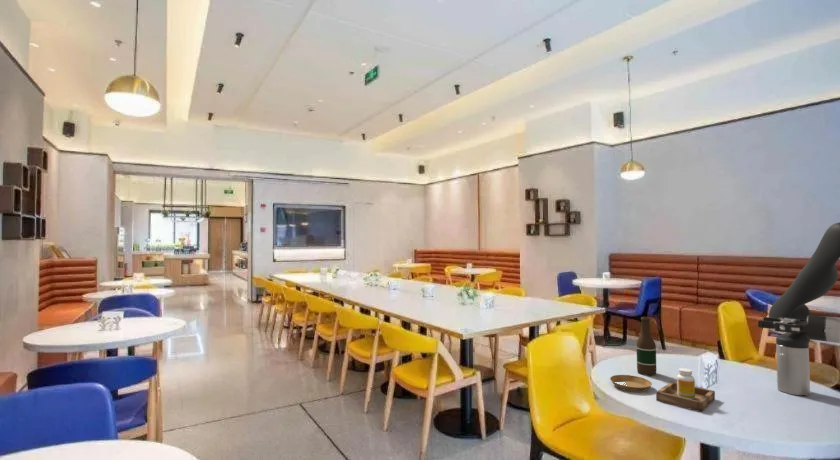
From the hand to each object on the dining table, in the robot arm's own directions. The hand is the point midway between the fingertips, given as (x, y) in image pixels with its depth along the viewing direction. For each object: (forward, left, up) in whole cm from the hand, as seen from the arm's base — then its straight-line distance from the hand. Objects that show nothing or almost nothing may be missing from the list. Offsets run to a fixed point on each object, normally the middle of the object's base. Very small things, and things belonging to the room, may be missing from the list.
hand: (761, 321), depth 141 cm
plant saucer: (+6, -40, -30) cm, 51 cm away
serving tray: (+6, -21, -30) cm, 37 cm away
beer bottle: (-16, -42, -30) cm, 54 cm away
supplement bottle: (+6, -21, -29) cm, 36 cm away
